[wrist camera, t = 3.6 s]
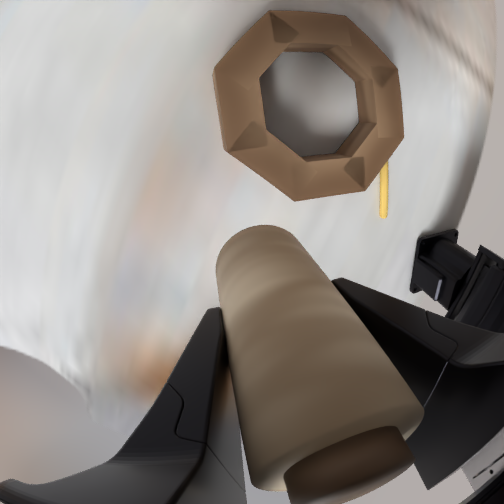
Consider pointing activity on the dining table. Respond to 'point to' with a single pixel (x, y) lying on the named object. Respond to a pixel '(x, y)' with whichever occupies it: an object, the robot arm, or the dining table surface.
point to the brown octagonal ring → (252, 114)
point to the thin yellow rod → (384, 191)
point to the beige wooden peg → (308, 376)
